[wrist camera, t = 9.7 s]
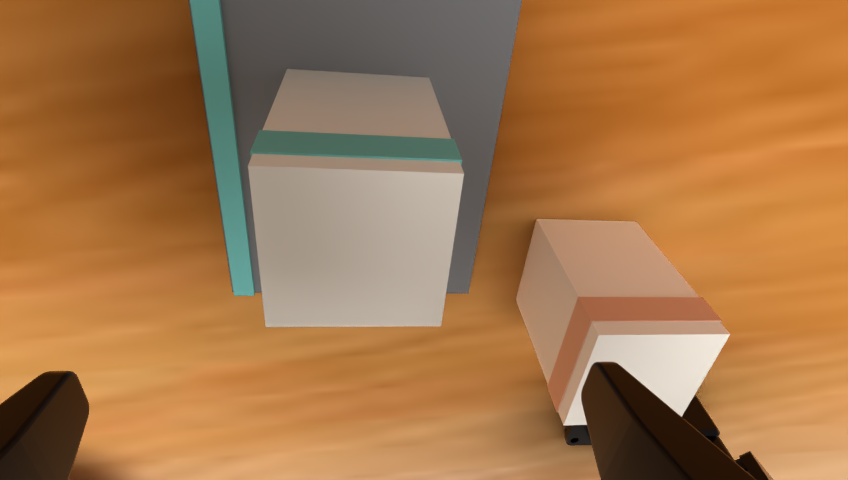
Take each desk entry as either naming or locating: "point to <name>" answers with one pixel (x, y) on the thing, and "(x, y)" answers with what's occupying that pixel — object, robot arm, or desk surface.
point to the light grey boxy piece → (613, 313)
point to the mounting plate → (353, 53)
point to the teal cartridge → (354, 201)
